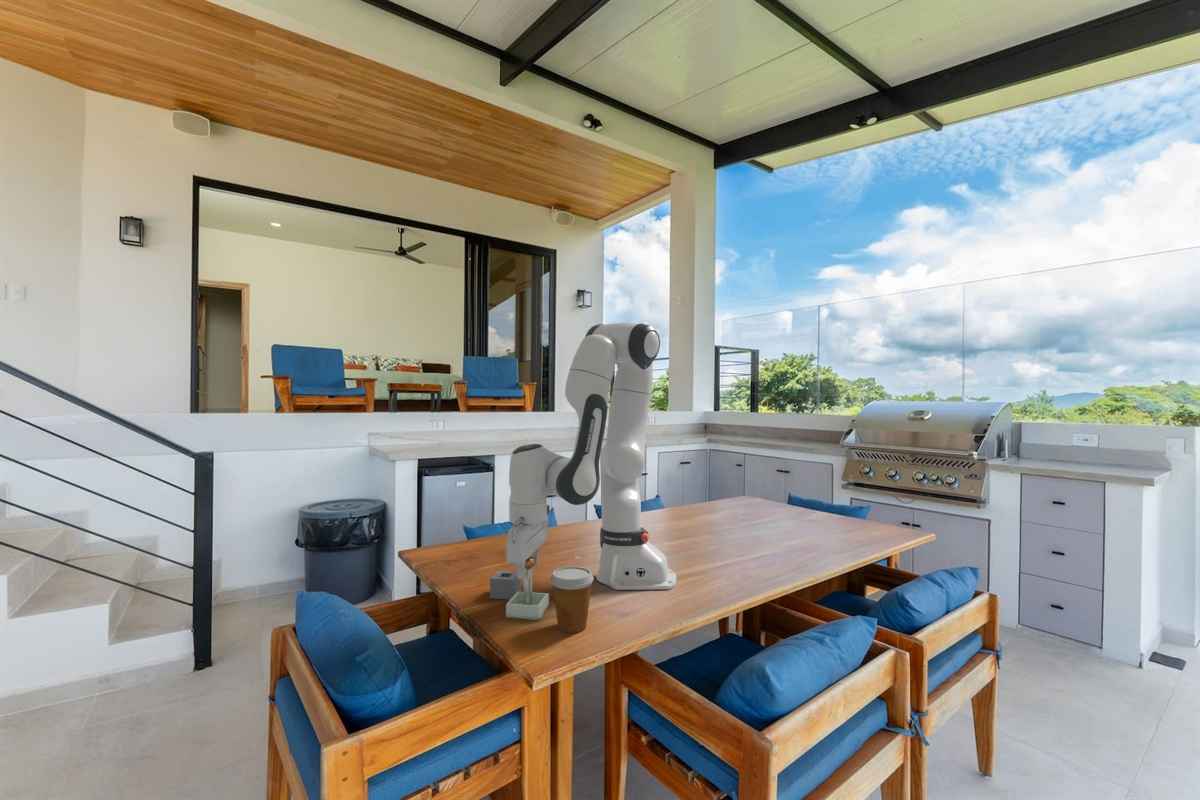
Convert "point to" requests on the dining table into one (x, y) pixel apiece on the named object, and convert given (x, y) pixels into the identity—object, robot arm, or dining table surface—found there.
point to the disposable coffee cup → (572, 597)
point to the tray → (527, 606)
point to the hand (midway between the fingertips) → (528, 571)
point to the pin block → (504, 585)
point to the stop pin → (528, 580)
